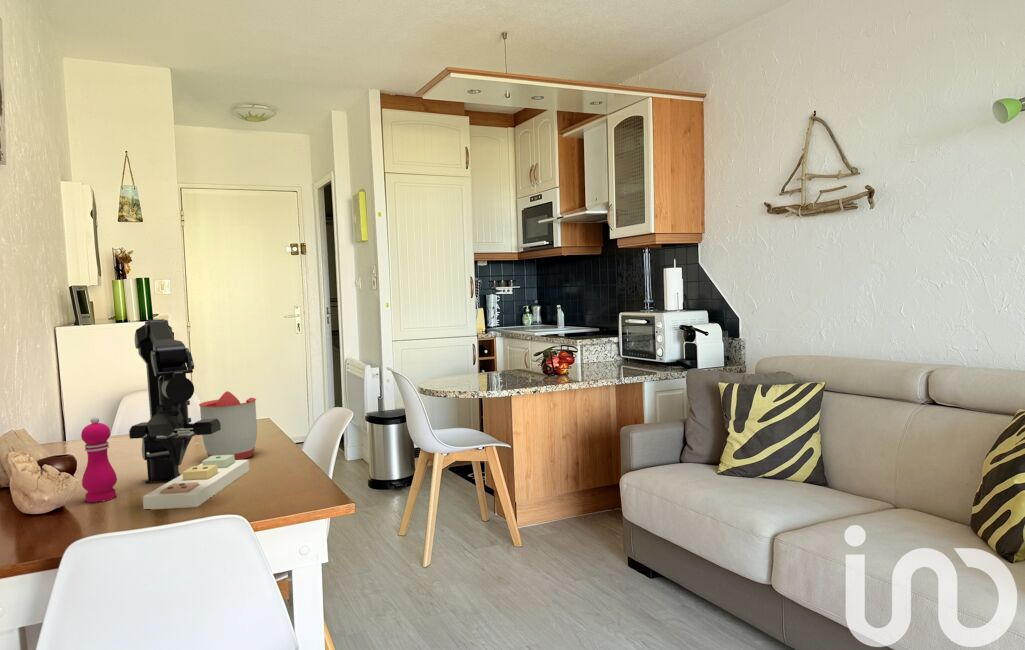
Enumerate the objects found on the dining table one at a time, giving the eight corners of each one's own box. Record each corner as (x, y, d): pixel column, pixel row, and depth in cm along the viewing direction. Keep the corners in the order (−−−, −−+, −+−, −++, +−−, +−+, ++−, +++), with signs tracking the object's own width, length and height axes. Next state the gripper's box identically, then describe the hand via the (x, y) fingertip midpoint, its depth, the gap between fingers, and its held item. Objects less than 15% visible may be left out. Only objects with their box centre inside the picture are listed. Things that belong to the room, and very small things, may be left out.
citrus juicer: (272, 450, 211) (268, 385, 210) (241, 465, 194) (236, 394, 193) (226, 450, 214) (222, 387, 213) (191, 465, 197) (186, 395, 196)
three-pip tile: (161, 500, 157) (160, 489, 157) (173, 493, 163) (172, 482, 163) (187, 499, 157) (186, 488, 157) (199, 491, 163) (198, 481, 163)
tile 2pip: (183, 481, 168) (182, 471, 168) (194, 475, 174) (193, 465, 174) (207, 480, 168) (206, 470, 168) (217, 473, 174) (217, 464, 174)
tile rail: (143, 509, 155) (142, 496, 155) (205, 472, 187) (204, 461, 187) (197, 507, 155) (196, 494, 155) (249, 470, 187) (248, 459, 187)
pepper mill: (93, 505, 161) (86, 420, 160) (77, 501, 165) (70, 418, 164) (124, 496, 167) (117, 415, 166) (108, 493, 171) (102, 413, 170)
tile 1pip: (202, 469, 179) (202, 460, 179) (212, 464, 185) (211, 454, 185) (225, 468, 179) (225, 459, 179) (234, 462, 185) (234, 453, 185)
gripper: (112, 406, 151) (118, 476, 151) (198, 401, 151) (203, 472, 152) (139, 398, 162) (144, 464, 163) (219, 394, 162) (223, 459, 163)
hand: (178, 465), depth 160 cm, fingers closed
